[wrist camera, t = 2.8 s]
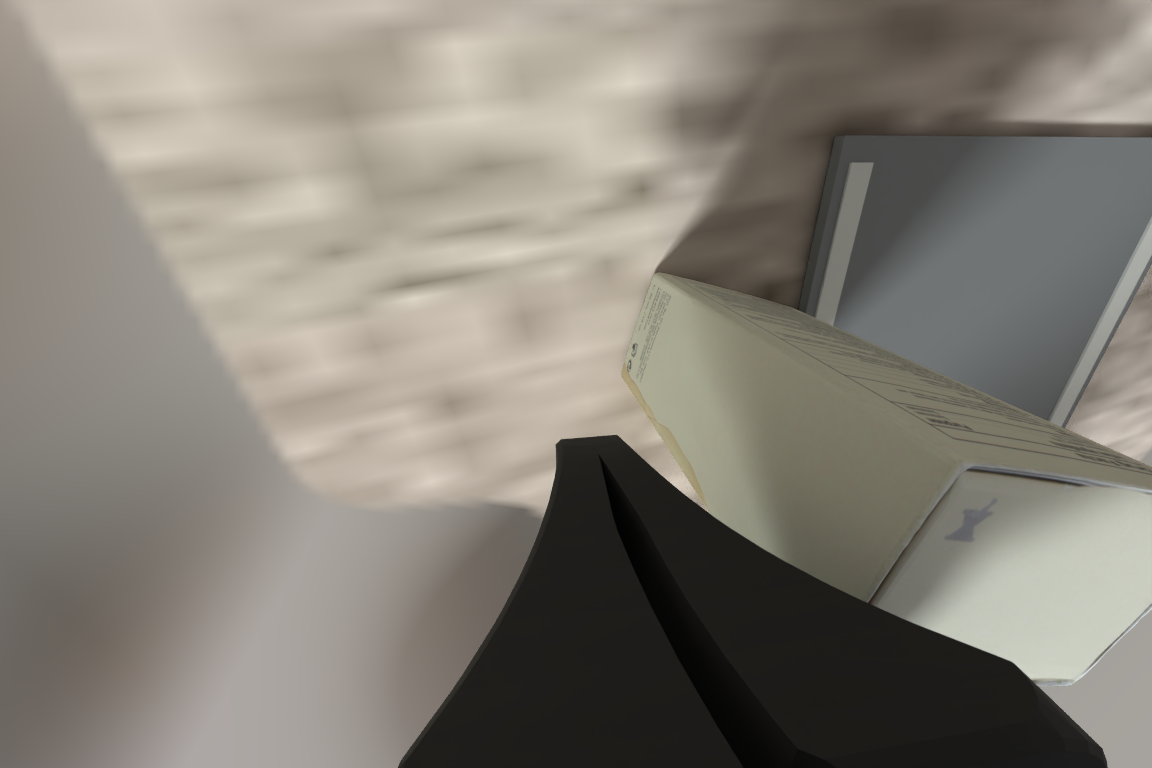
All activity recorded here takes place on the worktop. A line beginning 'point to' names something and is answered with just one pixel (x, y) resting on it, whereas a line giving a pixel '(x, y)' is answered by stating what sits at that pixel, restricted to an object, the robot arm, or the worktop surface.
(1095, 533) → the skincare box
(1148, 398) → the worktop surface
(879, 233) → the mat
